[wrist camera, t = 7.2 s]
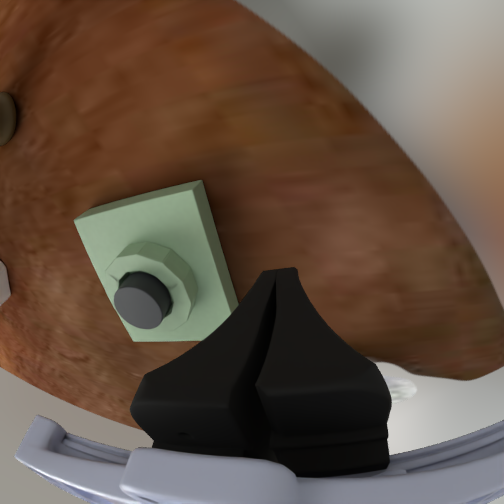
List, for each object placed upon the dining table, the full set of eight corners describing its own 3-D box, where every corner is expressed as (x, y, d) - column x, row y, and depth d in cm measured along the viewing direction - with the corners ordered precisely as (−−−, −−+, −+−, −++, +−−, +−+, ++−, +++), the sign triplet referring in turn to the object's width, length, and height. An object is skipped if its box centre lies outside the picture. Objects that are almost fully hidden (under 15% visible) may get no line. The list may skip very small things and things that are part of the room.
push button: (178, 312, 20) (170, 329, 19) (136, 314, 21) (127, 330, 20) (159, 268, 19) (149, 284, 17) (116, 274, 19) (104, 288, 18)
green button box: (244, 320, 25) (236, 355, 21) (142, 325, 27) (125, 355, 23) (202, 179, 19) (182, 199, 16) (88, 209, 21) (59, 230, 18)
